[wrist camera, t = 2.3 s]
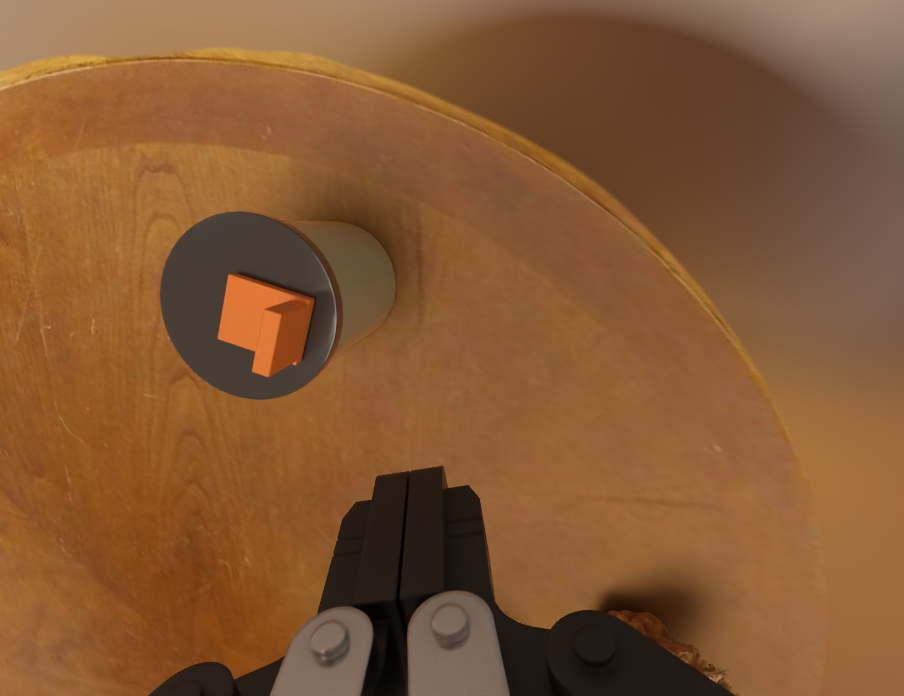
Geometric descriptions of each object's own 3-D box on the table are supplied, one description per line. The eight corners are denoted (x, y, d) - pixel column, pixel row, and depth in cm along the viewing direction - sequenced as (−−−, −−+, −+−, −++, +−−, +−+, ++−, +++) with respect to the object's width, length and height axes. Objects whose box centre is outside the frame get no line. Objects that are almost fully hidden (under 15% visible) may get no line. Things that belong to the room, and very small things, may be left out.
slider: (315, 298, 23) (282, 309, 20) (301, 362, 24) (267, 382, 21) (235, 272, 23) (190, 279, 20) (224, 336, 24) (179, 352, 21)
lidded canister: (415, 238, 34) (356, 245, 22) (382, 361, 36) (314, 425, 25) (290, 200, 34) (171, 186, 23) (266, 323, 37) (147, 367, 25)
